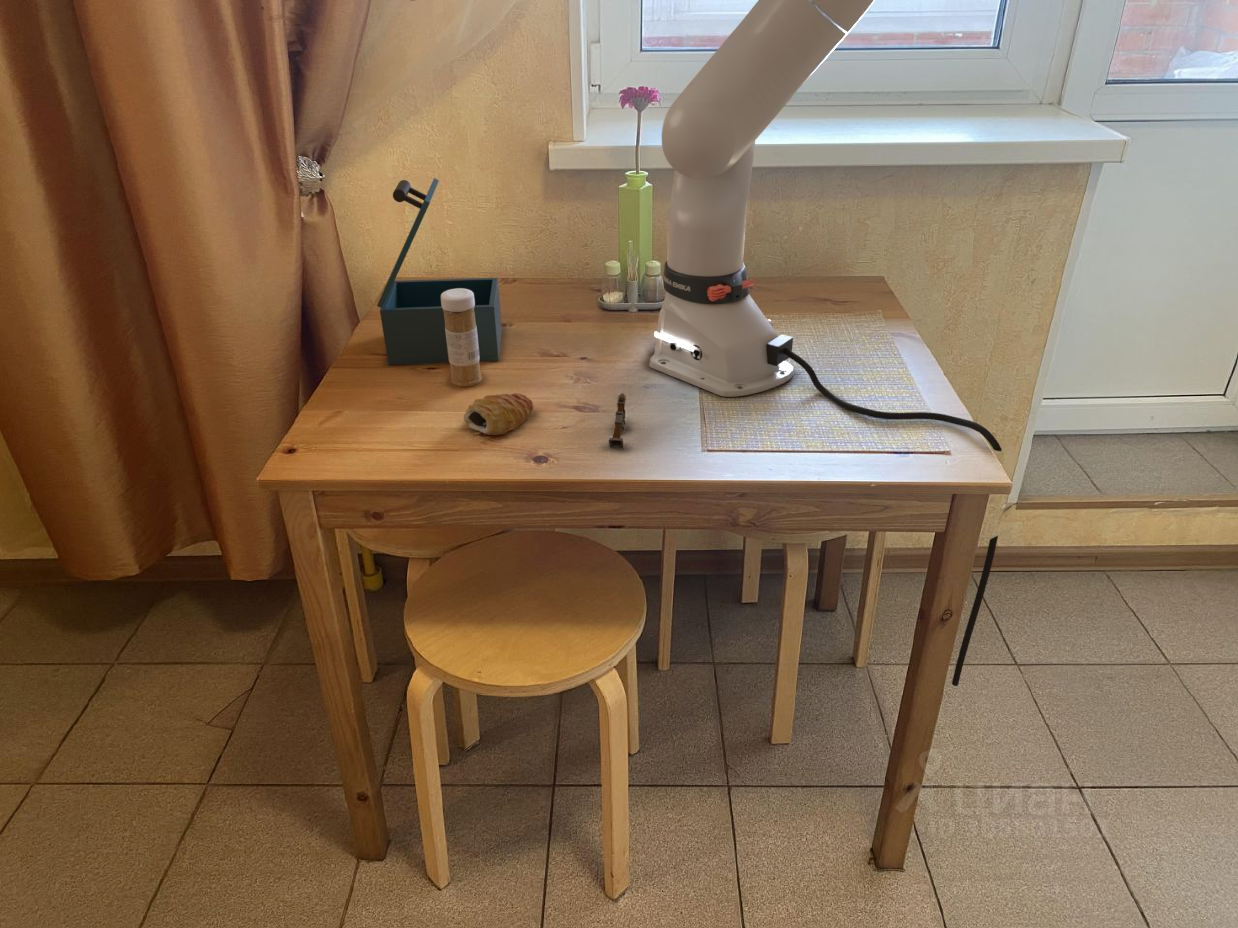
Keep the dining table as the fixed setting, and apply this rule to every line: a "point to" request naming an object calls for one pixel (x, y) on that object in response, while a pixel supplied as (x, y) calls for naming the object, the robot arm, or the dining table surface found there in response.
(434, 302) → the chest
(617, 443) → the wooden post with brackets
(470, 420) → the pastry
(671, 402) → the dining table surface
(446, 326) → the sprinkles bottle
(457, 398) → the dining table surface
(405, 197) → the lid
